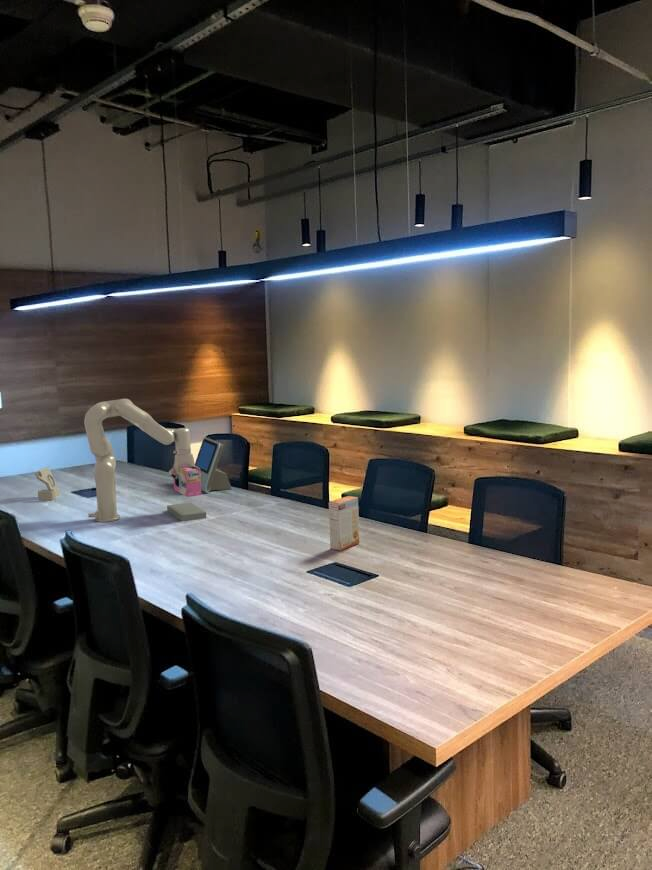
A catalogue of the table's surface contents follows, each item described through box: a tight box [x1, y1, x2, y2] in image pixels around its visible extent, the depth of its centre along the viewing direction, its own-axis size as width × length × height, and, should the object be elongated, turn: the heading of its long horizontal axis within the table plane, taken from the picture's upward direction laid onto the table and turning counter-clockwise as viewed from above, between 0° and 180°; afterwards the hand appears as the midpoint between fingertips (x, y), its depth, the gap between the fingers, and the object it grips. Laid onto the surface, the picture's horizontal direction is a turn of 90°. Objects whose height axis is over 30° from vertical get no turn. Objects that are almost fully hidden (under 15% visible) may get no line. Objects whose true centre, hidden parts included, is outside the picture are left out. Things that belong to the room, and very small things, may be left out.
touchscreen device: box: [194, 437, 232, 494], centre depth 443 cm, size 35×20×30 cm, turn 25°
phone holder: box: [34, 467, 62, 501], centre depth 422 cm, size 17×10×18 cm, turn 178°
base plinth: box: [166, 501, 207, 522], centre depth 375 cm, size 13×27×3 cm, turn 28°
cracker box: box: [328, 495, 360, 552], centre depth 309 cm, size 14×6×21 cm, turn 141°
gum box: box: [172, 464, 202, 498], centre depth 371 cm, size 24×8×14 cm, turn 29°
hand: (185, 485), depth 374 cm, fingers closed on gum box, 8 cm apart
